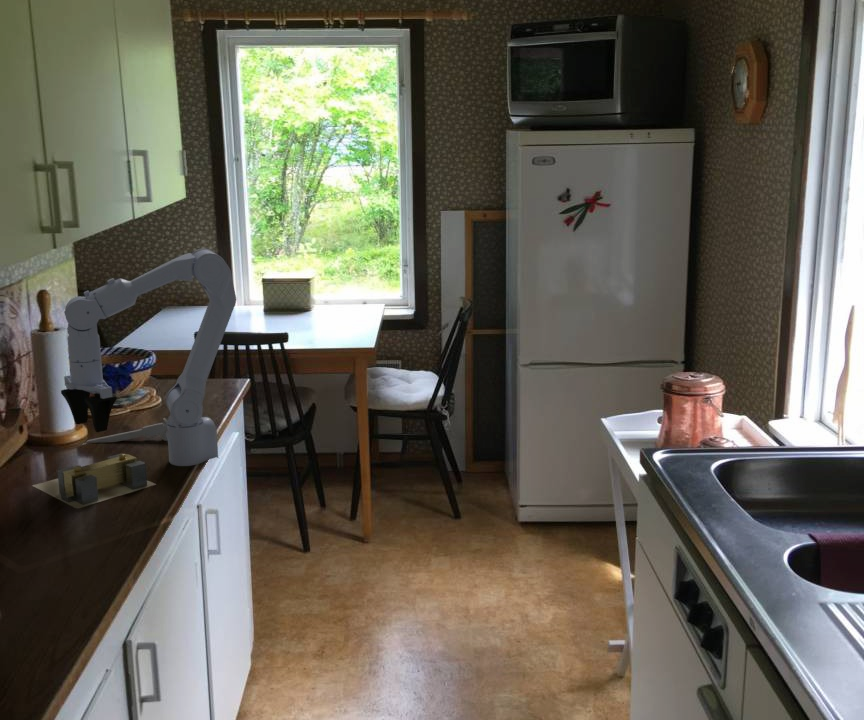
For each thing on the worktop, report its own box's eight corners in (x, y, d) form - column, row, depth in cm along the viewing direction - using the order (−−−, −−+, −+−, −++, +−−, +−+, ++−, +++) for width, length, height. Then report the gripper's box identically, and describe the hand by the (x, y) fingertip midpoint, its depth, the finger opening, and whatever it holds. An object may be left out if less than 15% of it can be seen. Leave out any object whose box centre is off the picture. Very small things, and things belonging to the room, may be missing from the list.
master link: (129, 473, 175) (127, 450, 174) (137, 477, 173) (136, 453, 172) (65, 492, 166) (62, 467, 165) (73, 496, 164) (71, 471, 163)
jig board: (109, 467, 184) (109, 464, 183) (156, 488, 173) (156, 484, 173) (32, 489, 172) (31, 485, 172) (77, 512, 161) (77, 508, 161)
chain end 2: (128, 473, 178) (127, 451, 177) (152, 483, 173) (151, 461, 172) (109, 479, 175) (107, 457, 174) (133, 489, 170) (131, 467, 169)
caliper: (178, 443, 200) (176, 416, 199) (177, 444, 199) (175, 417, 198) (82, 446, 198) (79, 418, 196) (80, 447, 197) (78, 420, 195)
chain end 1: (74, 489, 170) (72, 466, 169) (98, 500, 165) (96, 477, 164) (53, 495, 167) (51, 472, 166) (76, 507, 162) (74, 483, 160)
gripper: (47, 357, 176) (53, 424, 179) (85, 369, 167) (91, 439, 170) (81, 351, 181) (86, 416, 184) (119, 362, 172) (125, 430, 175)
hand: (91, 427), depth 177 cm, fingers open, 7 cm apart
